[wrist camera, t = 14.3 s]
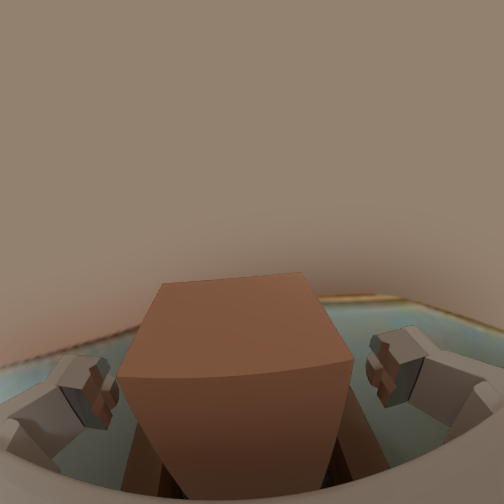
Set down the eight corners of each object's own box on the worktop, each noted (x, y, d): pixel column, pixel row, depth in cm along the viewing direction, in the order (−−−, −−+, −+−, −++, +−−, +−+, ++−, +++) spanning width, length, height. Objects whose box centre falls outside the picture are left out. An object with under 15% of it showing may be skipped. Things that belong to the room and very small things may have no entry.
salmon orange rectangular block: (293, 455, 11) (301, 271, 8) (307, 520, 7) (354, 358, 4) (213, 461, 11) (162, 283, 8) (213, 528, 7) (115, 376, 4)
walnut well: (335, 404, 14) (341, 368, 13) (390, 549, 4) (419, 535, 4) (164, 419, 14) (149, 385, 13) (140, 570, 4) (107, 560, 3)
